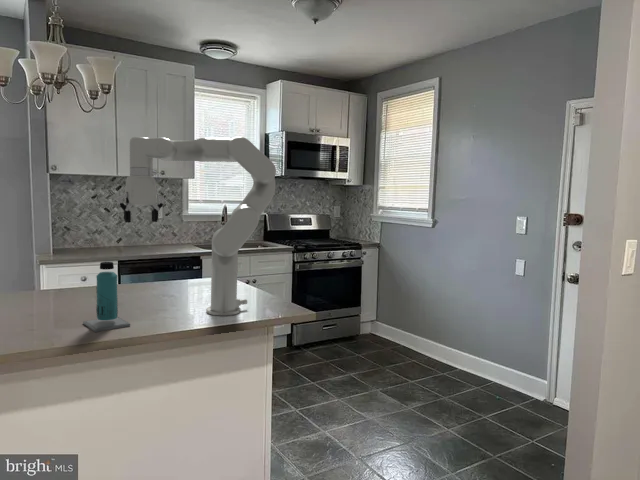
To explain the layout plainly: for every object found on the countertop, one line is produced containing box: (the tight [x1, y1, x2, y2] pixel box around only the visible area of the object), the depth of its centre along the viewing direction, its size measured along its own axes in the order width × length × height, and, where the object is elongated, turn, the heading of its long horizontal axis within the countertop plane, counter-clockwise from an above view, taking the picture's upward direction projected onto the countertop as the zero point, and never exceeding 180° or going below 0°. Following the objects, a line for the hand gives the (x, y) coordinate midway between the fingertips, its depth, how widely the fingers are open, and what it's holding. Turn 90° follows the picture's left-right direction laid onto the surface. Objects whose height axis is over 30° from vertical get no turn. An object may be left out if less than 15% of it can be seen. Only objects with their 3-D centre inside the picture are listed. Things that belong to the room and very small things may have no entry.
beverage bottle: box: [95, 261, 119, 320], centre depth 152 cm, size 6×7×20 cm
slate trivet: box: [82, 316, 131, 333], centre depth 153 cm, size 11×11×1 cm
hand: (141, 221), depth 166 cm, fingers open, 9 cm apart
